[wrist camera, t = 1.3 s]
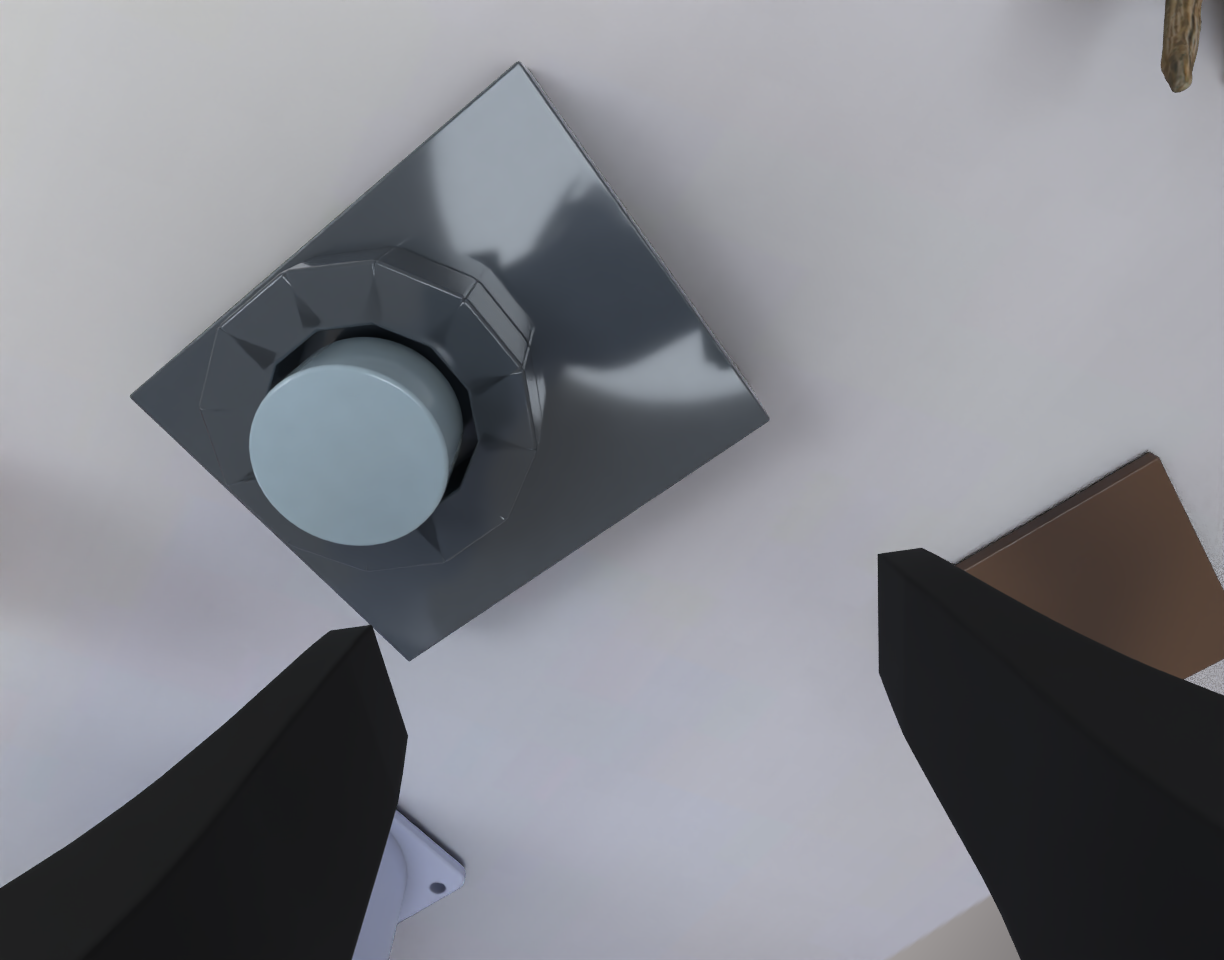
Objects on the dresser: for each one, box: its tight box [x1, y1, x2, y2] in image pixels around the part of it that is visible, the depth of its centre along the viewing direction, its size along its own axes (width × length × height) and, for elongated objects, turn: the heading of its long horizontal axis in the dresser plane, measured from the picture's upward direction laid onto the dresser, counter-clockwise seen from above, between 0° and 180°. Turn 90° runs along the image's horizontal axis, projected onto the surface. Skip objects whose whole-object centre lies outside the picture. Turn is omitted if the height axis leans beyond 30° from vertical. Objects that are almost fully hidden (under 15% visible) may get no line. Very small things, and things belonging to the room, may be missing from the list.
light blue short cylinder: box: [249, 337, 463, 546], centre depth 16 cm, size 4×4×2 cm
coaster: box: [955, 452, 1224, 680], centre depth 23 cm, size 8×8×1 cm
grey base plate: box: [130, 61, 770, 661], centre depth 18 cm, size 11×9×4 cm
